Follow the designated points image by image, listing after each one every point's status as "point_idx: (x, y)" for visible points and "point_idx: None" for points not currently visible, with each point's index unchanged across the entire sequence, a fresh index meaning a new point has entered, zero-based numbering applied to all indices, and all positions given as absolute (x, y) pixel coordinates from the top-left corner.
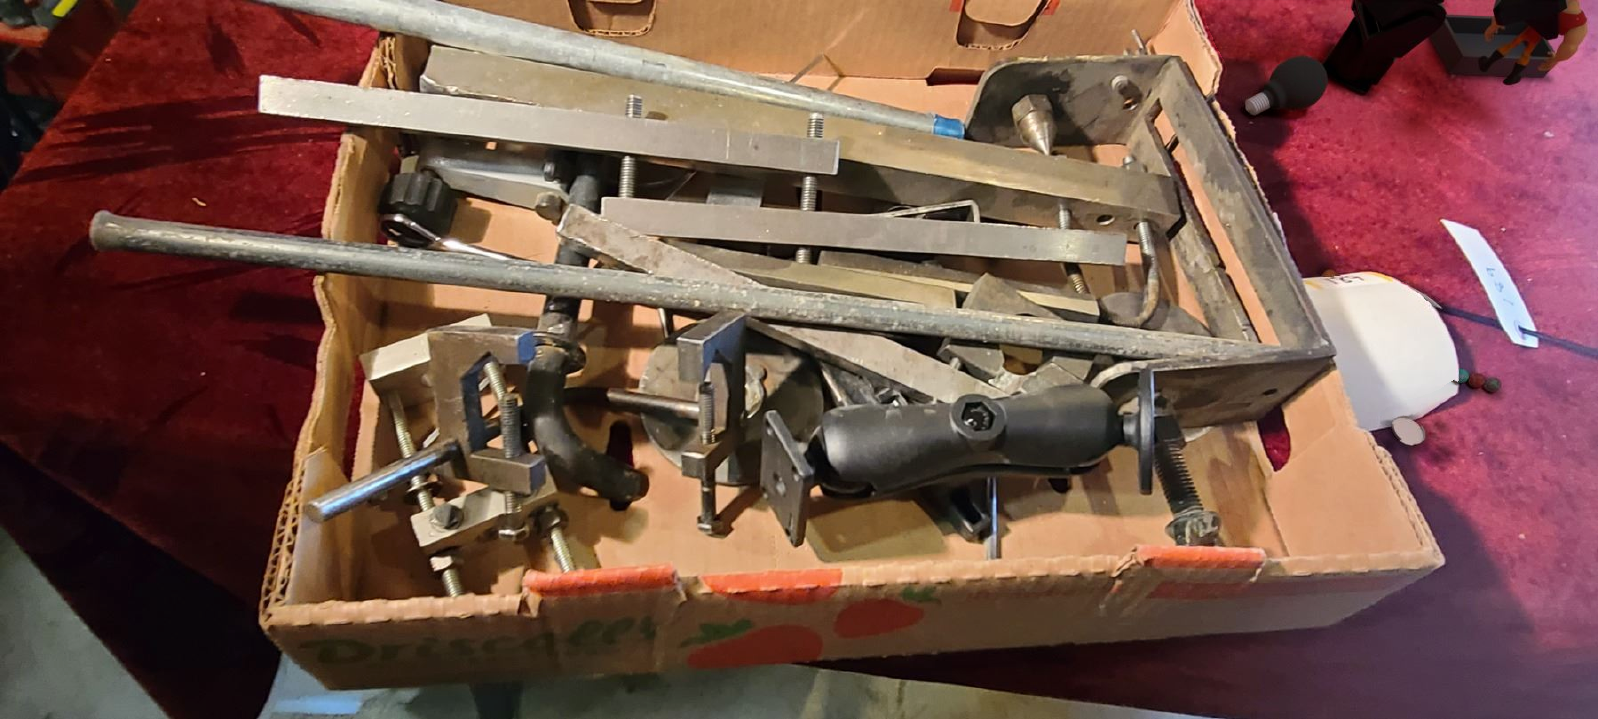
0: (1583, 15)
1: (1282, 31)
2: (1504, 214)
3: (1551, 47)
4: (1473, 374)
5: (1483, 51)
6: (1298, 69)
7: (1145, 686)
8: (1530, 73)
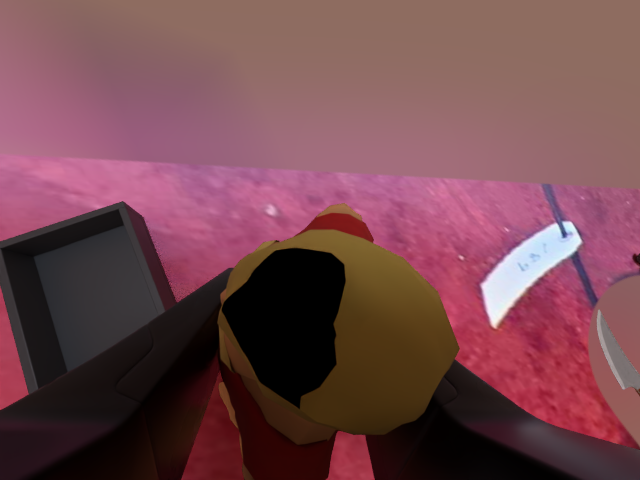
0: (353, 231)
1: None
2: (439, 257)
3: (88, 213)
4: None
5: (111, 313)
6: None
7: None
8: (148, 236)
